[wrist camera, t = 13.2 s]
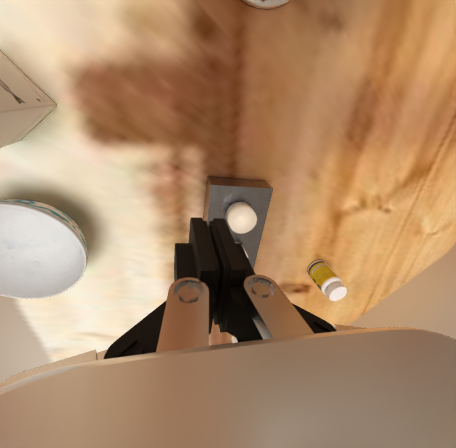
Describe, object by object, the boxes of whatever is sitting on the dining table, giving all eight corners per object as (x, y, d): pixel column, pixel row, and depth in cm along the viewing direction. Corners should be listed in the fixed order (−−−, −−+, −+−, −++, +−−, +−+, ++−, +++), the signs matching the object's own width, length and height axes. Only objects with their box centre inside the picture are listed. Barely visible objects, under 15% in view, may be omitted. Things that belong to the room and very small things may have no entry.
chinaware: (-38, 186, 32) (-91, 211, 25) (83, 177, 34) (63, 198, 28) (14, 271, 39) (-16, 307, 33) (110, 258, 42) (99, 289, 35)
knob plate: (207, 176, 38) (211, 184, 35) (264, 180, 41) (273, 188, 38) (196, 286, 50) (198, 300, 46) (241, 284, 52) (246, 297, 49)
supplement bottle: (302, 270, 54) (323, 298, 47) (317, 256, 53) (340, 282, 46) (315, 277, 57) (336, 305, 50) (329, 264, 55) (353, 290, 48)
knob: (223, 193, 39) (231, 207, 34) (248, 194, 40) (259, 208, 36) (220, 216, 41) (227, 233, 36) (244, 217, 42) (253, 233, 38)
